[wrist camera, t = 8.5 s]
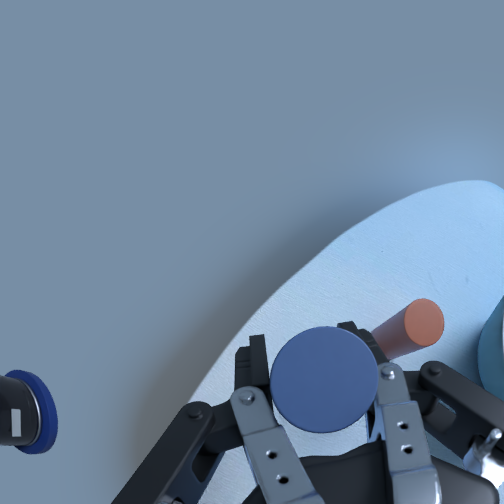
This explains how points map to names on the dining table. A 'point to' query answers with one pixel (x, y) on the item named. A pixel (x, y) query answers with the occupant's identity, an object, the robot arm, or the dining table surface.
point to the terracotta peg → (410, 329)
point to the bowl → (493, 352)
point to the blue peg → (324, 379)
